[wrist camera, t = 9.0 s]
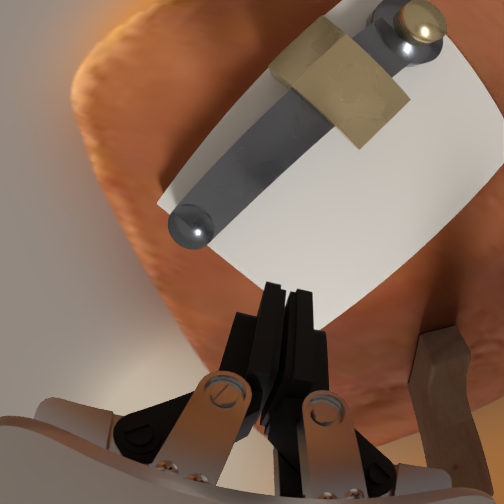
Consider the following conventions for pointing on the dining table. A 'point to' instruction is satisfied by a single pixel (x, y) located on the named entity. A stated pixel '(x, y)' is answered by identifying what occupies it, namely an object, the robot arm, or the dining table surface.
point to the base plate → (357, 182)
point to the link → (281, 139)
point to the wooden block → (447, 409)
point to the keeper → (352, 71)
